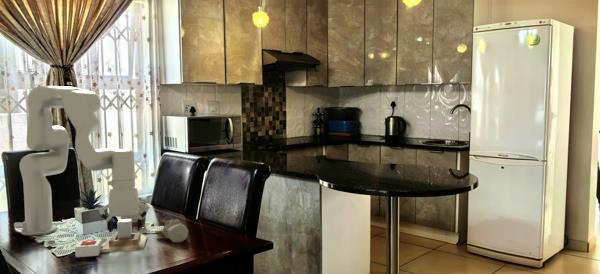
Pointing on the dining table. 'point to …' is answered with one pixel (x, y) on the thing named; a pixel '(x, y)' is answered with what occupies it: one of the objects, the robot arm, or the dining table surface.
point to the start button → (88, 242)
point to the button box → (88, 249)
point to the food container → (134, 218)
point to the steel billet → (124, 229)
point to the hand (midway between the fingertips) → (125, 230)
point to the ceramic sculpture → (173, 231)
